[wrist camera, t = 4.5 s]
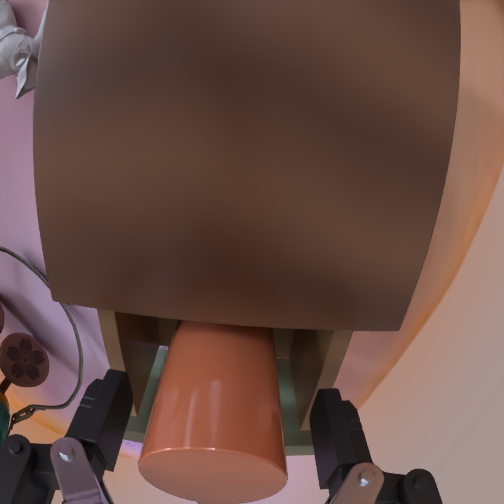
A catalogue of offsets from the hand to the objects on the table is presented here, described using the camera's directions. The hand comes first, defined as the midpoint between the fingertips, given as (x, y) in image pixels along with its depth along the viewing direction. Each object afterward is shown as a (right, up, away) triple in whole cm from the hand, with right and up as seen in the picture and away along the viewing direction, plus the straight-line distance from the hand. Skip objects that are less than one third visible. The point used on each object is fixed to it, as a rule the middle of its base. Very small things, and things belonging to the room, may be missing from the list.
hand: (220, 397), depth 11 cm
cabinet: (+1, +13, +4) cm, 14 cm away
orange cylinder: (0, +3, +6) cm, 7 cm away
